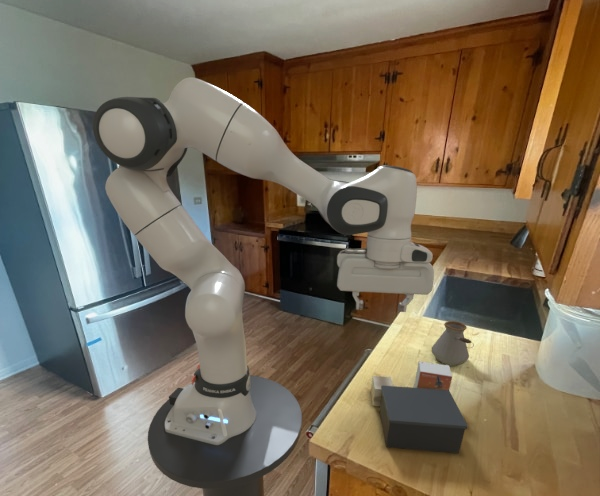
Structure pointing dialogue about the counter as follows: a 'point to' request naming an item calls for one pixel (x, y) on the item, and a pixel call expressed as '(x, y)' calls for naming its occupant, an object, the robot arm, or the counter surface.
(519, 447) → the counter surface
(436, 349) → the coffee pot
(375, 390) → the beige cube block
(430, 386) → the small box
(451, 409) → the storage box
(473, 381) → the counter surface
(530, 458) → the counter surface
